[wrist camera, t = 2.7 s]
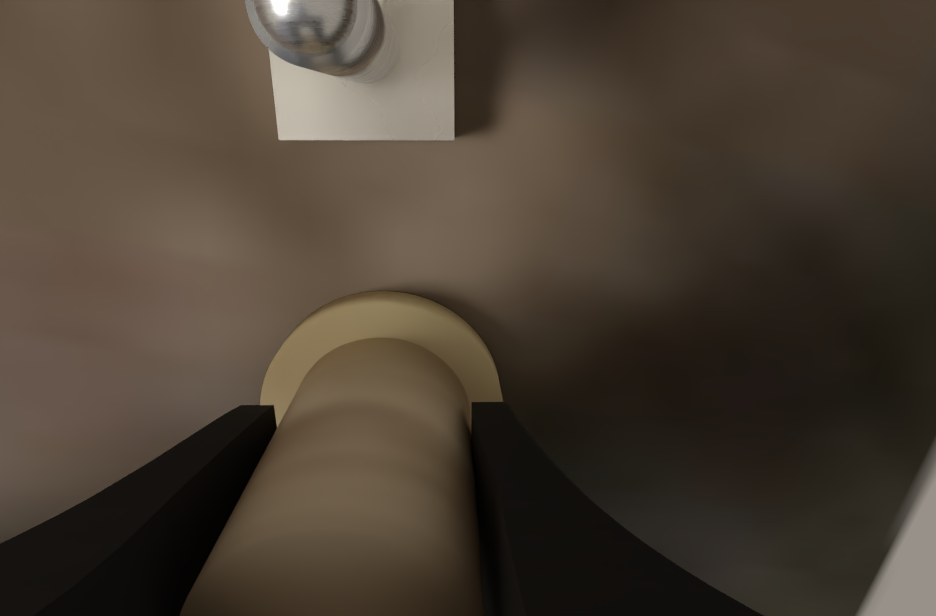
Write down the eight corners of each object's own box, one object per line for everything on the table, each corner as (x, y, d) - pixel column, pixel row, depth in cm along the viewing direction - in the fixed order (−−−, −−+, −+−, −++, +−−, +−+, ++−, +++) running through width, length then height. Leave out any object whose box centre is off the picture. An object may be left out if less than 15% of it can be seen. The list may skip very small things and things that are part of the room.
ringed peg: (497, 489, 13) (536, 780, 7) (285, 494, 13) (158, 795, 7) (503, 290, 11) (558, 470, 6) (258, 291, 11) (64, 480, 6)
